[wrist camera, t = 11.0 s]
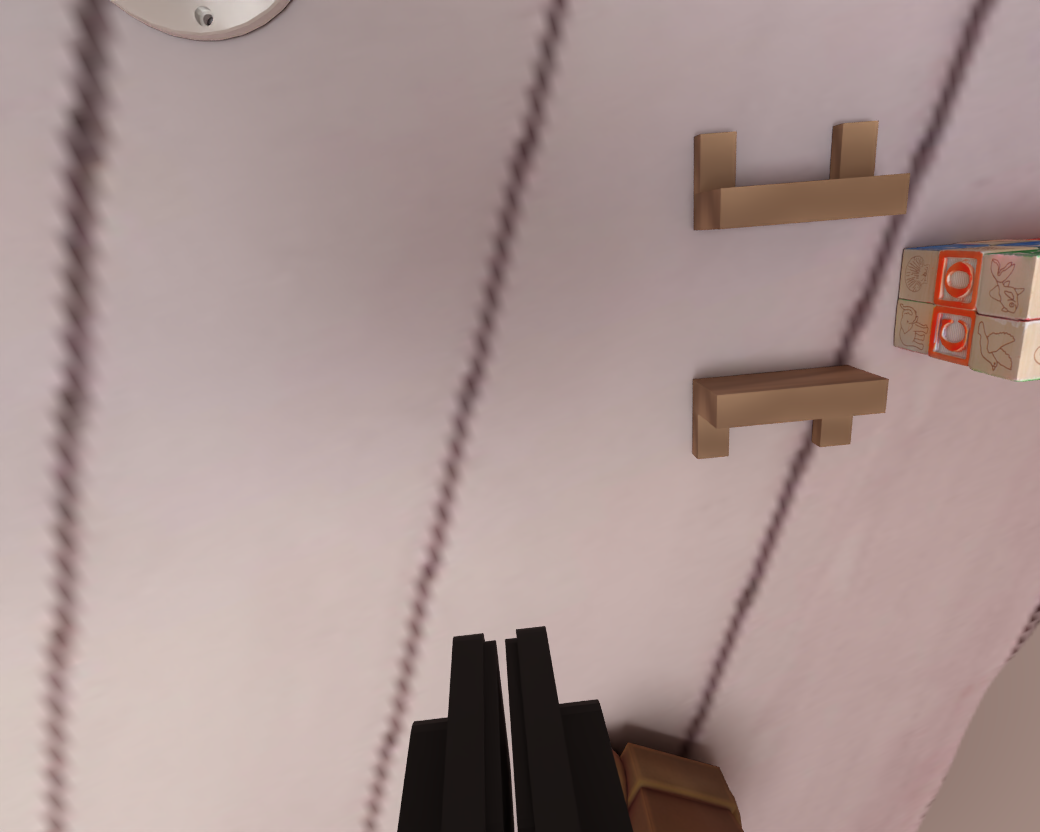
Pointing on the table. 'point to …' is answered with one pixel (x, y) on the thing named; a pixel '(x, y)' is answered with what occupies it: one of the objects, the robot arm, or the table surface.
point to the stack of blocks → (973, 306)
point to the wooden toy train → (674, 793)
